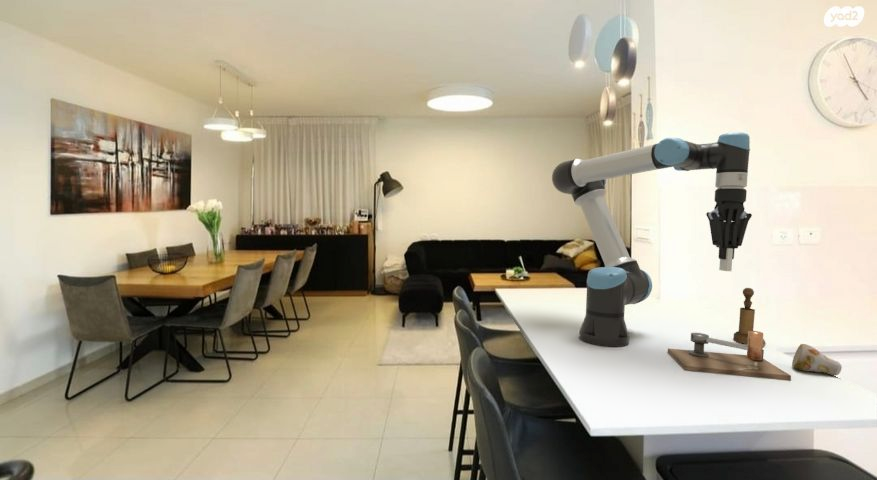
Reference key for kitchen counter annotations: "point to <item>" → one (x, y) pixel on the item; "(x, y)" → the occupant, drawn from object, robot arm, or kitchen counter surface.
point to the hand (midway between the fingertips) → (725, 270)
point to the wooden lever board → (726, 363)
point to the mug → (814, 361)
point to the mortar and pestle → (745, 318)
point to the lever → (752, 348)
